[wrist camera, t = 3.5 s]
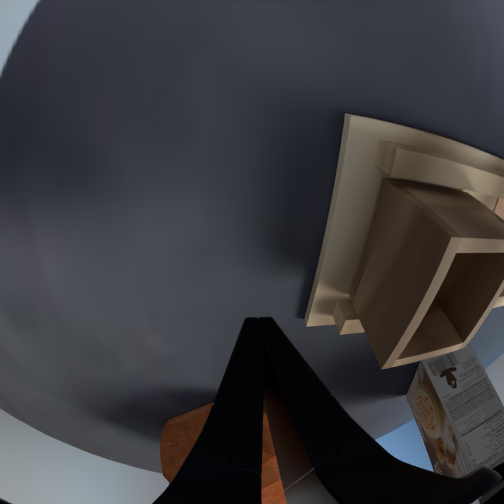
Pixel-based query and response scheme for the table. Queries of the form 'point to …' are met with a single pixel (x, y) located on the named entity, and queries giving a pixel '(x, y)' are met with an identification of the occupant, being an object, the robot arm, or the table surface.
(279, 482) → the bread
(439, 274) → the crate
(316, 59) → the table surface
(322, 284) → the beige cubby shelf
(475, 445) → the coffee box
